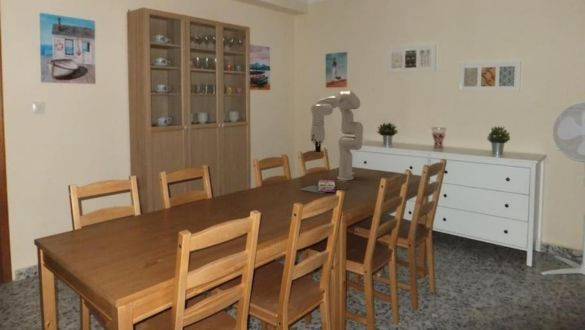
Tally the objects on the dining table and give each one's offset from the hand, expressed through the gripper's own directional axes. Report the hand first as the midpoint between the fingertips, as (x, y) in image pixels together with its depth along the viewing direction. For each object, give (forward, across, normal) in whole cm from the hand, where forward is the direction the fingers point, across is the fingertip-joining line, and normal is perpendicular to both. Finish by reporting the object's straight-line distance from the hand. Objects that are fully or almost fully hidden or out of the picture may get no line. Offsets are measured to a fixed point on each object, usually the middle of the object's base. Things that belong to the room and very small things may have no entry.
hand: (318, 151), depth 287 cm
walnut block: (+25, -12, +11) cm, 30 cm away
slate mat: (+25, +1, 0) cm, 25 cm away
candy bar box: (+22, -9, +1) cm, 24 cm away
